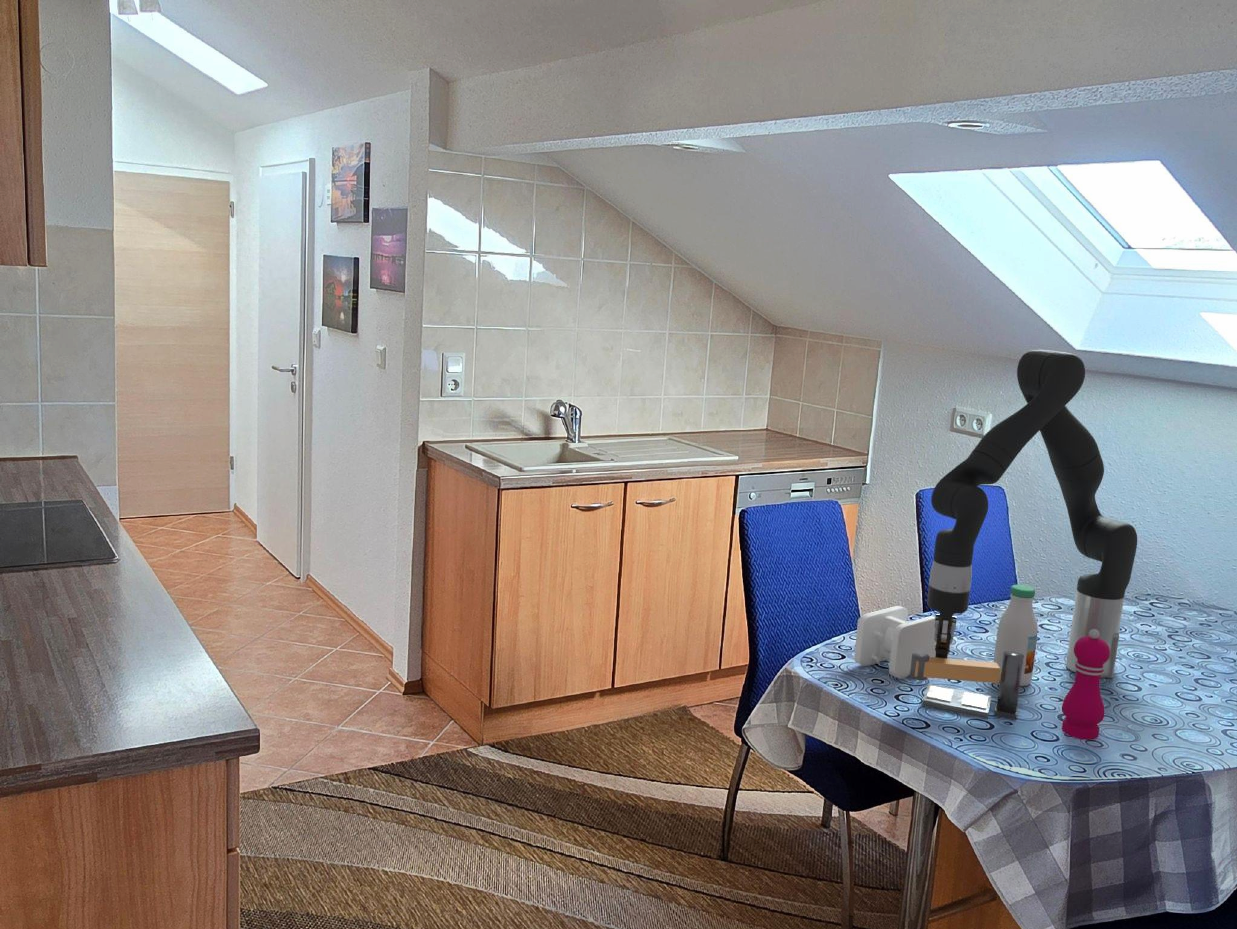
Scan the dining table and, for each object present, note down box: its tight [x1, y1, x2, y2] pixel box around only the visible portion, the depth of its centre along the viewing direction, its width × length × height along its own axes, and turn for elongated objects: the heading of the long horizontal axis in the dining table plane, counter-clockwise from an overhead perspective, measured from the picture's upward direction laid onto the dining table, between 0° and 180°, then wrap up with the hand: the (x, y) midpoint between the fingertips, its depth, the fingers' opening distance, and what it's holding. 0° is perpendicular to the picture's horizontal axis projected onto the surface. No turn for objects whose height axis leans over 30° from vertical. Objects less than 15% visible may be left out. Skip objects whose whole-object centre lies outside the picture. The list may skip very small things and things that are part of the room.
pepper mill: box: [1061, 629, 1110, 741], centre depth 191 cm, size 7×7×20 cm
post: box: [993, 651, 1024, 721], centre depth 199 cm, size 4×4×12 cm
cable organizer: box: [853, 605, 936, 680], centre depth 219 cm, size 15×11×12 cm
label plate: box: [921, 683, 992, 720], centre depth 203 cm, size 12×9×2 cm
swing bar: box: [909, 652, 1001, 684], centre depth 199 cm, size 16×3×4 cm, turn 85°
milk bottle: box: [992, 584, 1039, 687], centre depth 215 cm, size 8×8×20 cm
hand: (939, 669), depth 204 cm, fingers closed
